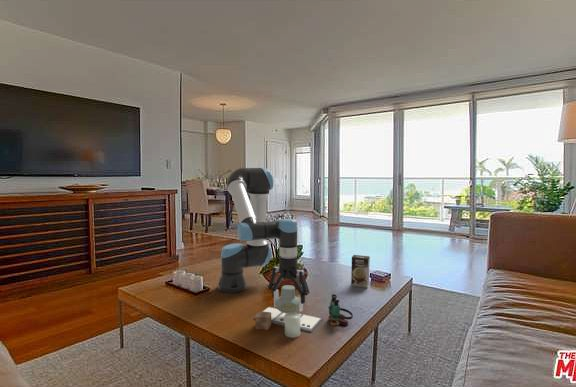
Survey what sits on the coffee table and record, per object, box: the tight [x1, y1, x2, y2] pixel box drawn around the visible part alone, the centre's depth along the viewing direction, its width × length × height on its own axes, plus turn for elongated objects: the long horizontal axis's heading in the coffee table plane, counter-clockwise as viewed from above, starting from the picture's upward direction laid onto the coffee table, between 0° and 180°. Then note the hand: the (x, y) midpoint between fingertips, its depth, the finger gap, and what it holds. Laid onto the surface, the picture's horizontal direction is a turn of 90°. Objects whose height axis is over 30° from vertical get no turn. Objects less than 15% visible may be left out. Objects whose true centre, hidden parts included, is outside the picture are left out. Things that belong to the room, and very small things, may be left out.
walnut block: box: [255, 310, 272, 331], centre depth 129 cm, size 5×5×5 cm
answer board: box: [253, 306, 323, 333], centre depth 135 cm, size 26×12×1 cm, turn 63°
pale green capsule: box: [284, 312, 301, 339], centre depth 123 cm, size 6×6×7 cm
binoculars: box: [327, 293, 354, 327], centre depth 133 cm, size 9×11×10 cm
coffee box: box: [350, 254, 371, 289], centre depth 177 cm, size 9×6×16 cm
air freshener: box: [275, 284, 299, 314], centre depth 134 cm, size 11×8×10 cm
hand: (288, 308), depth 135 cm, fingers closed on air freshener, 11 cm apart
